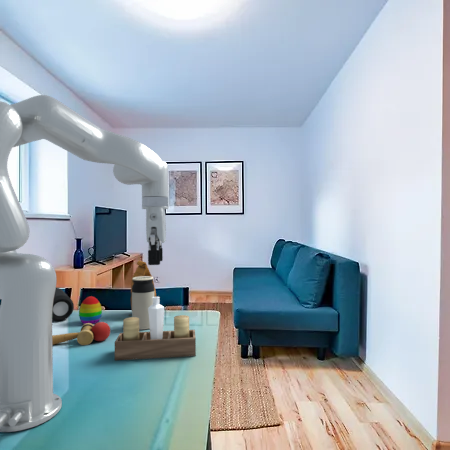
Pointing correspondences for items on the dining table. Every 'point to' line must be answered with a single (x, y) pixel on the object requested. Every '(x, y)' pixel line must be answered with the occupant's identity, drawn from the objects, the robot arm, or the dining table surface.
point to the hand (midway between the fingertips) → (155, 262)
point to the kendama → (85, 334)
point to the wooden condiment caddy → (155, 341)
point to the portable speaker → (61, 305)
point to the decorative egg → (90, 311)
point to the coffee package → (141, 271)
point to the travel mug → (142, 299)
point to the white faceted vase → (156, 319)
